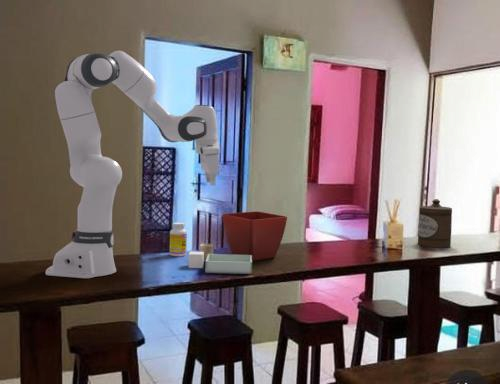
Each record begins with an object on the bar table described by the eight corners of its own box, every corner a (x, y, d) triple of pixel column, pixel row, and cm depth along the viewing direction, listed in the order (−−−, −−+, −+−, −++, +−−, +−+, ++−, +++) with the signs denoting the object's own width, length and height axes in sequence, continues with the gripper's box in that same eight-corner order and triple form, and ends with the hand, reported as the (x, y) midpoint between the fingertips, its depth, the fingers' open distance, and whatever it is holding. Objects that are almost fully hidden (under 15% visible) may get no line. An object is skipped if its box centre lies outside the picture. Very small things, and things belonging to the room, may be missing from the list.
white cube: (188, 268, 188) (188, 254, 188) (189, 264, 193) (190, 251, 193) (202, 268, 188) (202, 254, 188) (203, 265, 193) (203, 251, 193)
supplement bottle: (183, 257, 206) (183, 224, 205) (167, 256, 207) (167, 223, 206) (188, 254, 212) (189, 222, 211) (172, 253, 214) (173, 221, 213)
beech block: (199, 261, 199) (199, 245, 199) (200, 258, 204) (201, 243, 204) (212, 262, 199) (213, 246, 199) (213, 259, 204) (214, 244, 204)
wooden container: (411, 242, 257) (413, 197, 255) (437, 242, 261) (439, 197, 260) (430, 248, 243) (433, 200, 241) (457, 247, 247) (460, 200, 245)
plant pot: (250, 264, 198) (251, 219, 196) (219, 255, 212) (220, 213, 211) (287, 258, 210) (288, 216, 209) (256, 250, 225) (257, 211, 223)
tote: (205, 272, 181) (205, 261, 181) (207, 264, 194) (208, 253, 194) (251, 274, 182) (252, 262, 181) (251, 265, 195) (251, 255, 194)
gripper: (195, 146, 209) (198, 181, 212) (203, 150, 190) (207, 188, 192) (211, 145, 211) (214, 179, 213) (220, 148, 191) (224, 186, 193)
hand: (210, 183), depth 202 cm, fingers open, 8 cm apart
